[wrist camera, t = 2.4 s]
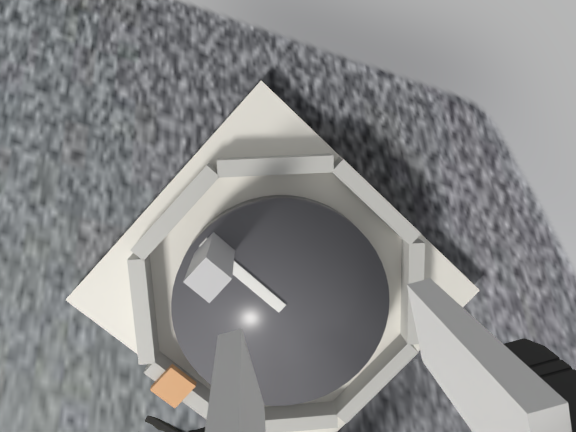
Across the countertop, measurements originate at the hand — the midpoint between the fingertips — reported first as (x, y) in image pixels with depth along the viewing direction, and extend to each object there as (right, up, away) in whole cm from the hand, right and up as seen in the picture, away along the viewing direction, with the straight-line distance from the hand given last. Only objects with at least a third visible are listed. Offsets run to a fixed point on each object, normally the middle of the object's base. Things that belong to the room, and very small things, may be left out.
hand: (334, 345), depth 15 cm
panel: (-2, -2, +24) cm, 24 cm away
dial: (-2, -2, +22) cm, 22 cm away
